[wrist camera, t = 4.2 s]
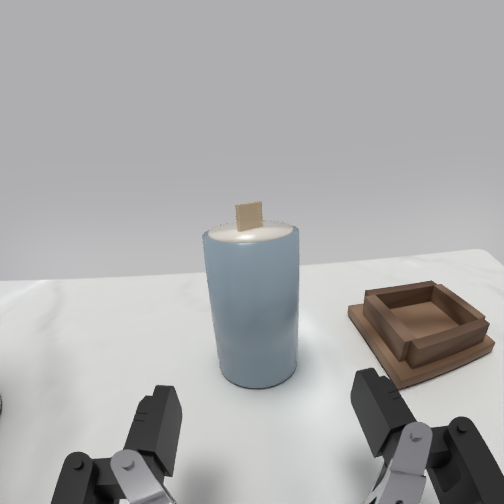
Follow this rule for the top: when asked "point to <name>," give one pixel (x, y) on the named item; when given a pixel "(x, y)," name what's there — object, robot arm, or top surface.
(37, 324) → the top surface
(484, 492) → the robot arm
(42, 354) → the top surface
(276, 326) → the candle jar
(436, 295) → the tray
